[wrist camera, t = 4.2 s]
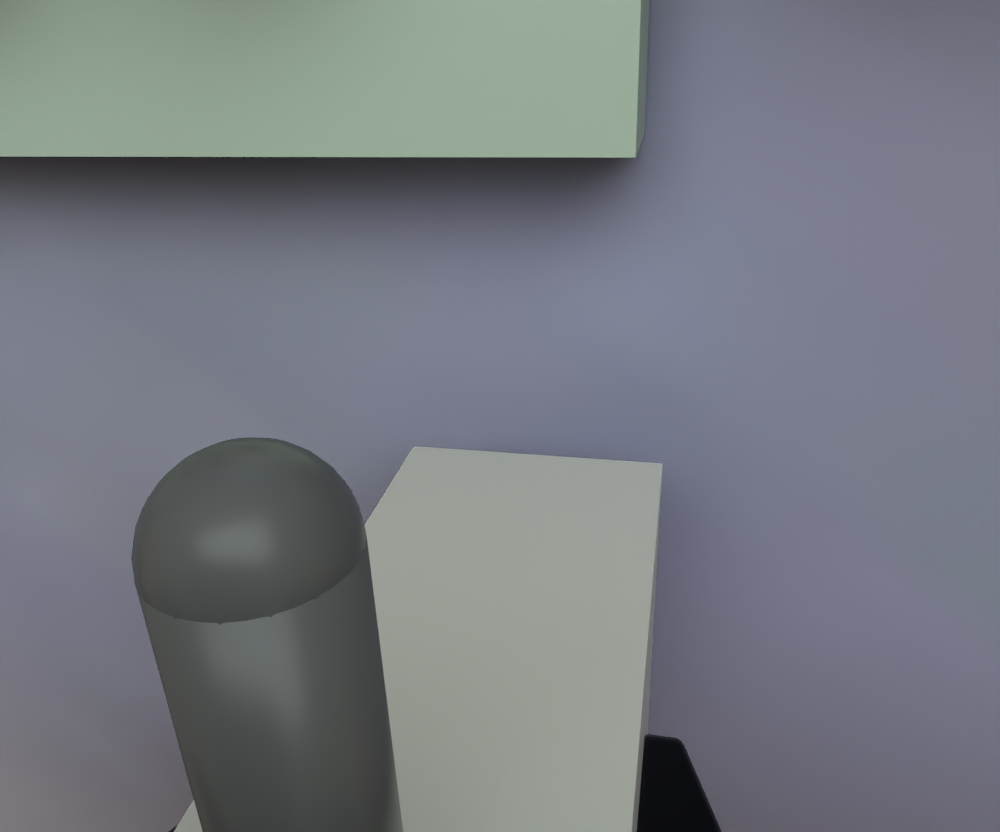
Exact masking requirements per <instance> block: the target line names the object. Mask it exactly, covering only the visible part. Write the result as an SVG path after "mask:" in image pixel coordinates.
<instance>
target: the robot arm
mask: <svg viewBox="0 0 1000 832" xmlns="http://www.w3.org/2000/svg"><path fill="white" fill-rule="evenodd" d="M177 826H178V825H177ZM177 826H175V827H174V828H173V829H172V830H170V831H169V832H174V830H175V829H176V827H177ZM637 832H721V829H720V827H719V825H718V822H717V820H716V818H715V815H714V813H713V811H712V809H711V806H710V804H709V802H708V799H707V797H706V795H705V792H704V790H703V788H702V785H701V783H700V781H699V779H698V776H697V774H696V772H695V769H694V767H693V765H692V762H691V760H690V758H689V756H688V753H687V751H686V749H685V746H684V745H683V743H682V742H681V741H680V740H679V739H677V738H672V737H665V736H657V735H650V734H648V735H645V738H644V749H643V761H642V773H641V785H640V797H639V810H638V822H637Z"/></svg>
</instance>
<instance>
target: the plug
mask: <svg viewBox="0 0 1000 832" xmlns="http://www.w3.org/2000/svg"><path fill="white" fill-rule="evenodd" d="M662 465H663V464H662V463H647V462H633V461H618V460H604V459H590V458H575V457H561V456H547V455H532V454H518V453H503V452H489V451H475V450H460V449H446V448H431V447H417V446H413V448H412V450H411V451H410V453H409V454H408V456H407V458H406V459H405V461H404V463H403V464H402V466H401V467H400V469H399V471H398V472H397V474H396V475H395V477H394V479H393V480H392V482H391V483H390V485H389V487H388V488H387V490H386V491H385V493H384V495H383V496H382V498H381V499H380V501H379V503H378V504H377V506H376V507H375V509H374V511H373V512H372V514H371V516H370V517H369V519H368V520H367V522H366V524H365V525H364V522H363V518H362V515H361V511H360V507H359V505H358V503H357V501H356V499H355V497H354V495H353V493H352V491H351V489H350V488H349V487H348V485H347V484H346V482H345V481H344V480H343V479H342V478H341V476H340V475H339V474H338V473H337V472H336V471H335V469H334V468H333V467H332V466H330V465H329V464H328V463H326V462H325V461H323V460H322V459H321V458H319V457H318V456H316V455H315V454H314V453H312V452H311V451H309V450H306V449H304V448H302V447H299V446H297V445H294V444H291V443H289V442H286V441H282V440H278V439H271V438H237V439H231V440H227V441H223V442H220V443H216V444H214V445H211V446H209V447H206V448H204V449H202V450H199V451H197V452H195V453H193V454H192V455H190V456H188V457H186V458H185V459H184V460H182V461H181V462H180V463H179V464H177V465H176V466H175V467H174V468H173V469H172V470H171V471H169V472H168V473H167V474H166V475H165V476H164V477H163V478H162V479H161V480H160V482H159V483H158V484H157V486H156V487H155V489H154V490H153V491H152V493H151V494H150V496H149V497H148V499H147V501H146V503H145V505H144V506H143V508H142V511H141V514H140V516H139V519H138V522H137V524H136V527H135V534H134V541H133V550H132V566H133V573H134V579H135V585H136V589H137V593H138V596H139V600H140V604H141V607H142V611H143V615H144V618H145V622H146V626H147V629H148V633H149V637H150V640H151V644H152V648H153V651H154V655H155V659H156V662H157V666H158V670H159V673H160V677H161V681H162V684H163V688H164V692H165V695H166V699H167V703H168V706H169V710H170V714H171V717H172V721H173V725H174V728H175V732H176V736H177V739H178V743H179V747H180V750H181V754H182V758H183V762H184V765H185V769H186V773H187V776H188V780H189V784H190V787H191V791H192V795H193V798H194V800H193V801H192V803H191V805H190V806H189V808H188V809H187V811H186V813H185V814H184V816H183V817H182V819H181V821H180V822H179V824H178V826H177V827H176V829H175V830H174V832H637V822H638V810H639V797H640V785H641V773H642V761H643V749H644V738H645V735H648V722H649V704H650V685H651V667H652V649H653V630H654V612H655V594H656V575H657V557H658V539H659V520H660V502H661V484H662Z"/></svg>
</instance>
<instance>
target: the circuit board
mask: <svg viewBox="0 0 1000 832" xmlns="http://www.w3.org/2000/svg"><path fill="white" fill-rule="evenodd" d="M649 9H650V0H0V157H601V158H636V155H637V153H638V150H639V148H640V145H641V142H642V140H643V137H644V135H645V114H646V88H647V61H648V35H649Z"/></svg>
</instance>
